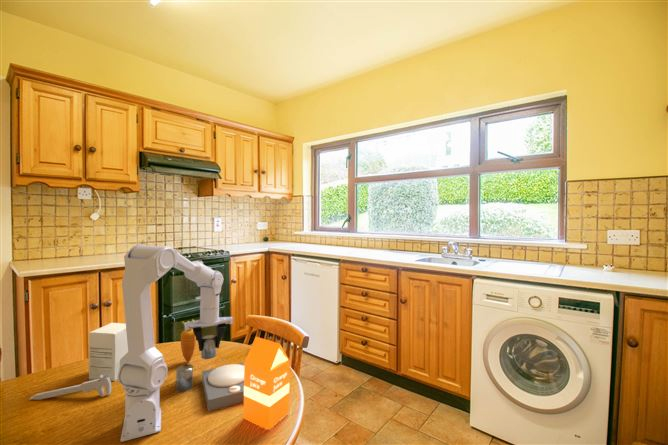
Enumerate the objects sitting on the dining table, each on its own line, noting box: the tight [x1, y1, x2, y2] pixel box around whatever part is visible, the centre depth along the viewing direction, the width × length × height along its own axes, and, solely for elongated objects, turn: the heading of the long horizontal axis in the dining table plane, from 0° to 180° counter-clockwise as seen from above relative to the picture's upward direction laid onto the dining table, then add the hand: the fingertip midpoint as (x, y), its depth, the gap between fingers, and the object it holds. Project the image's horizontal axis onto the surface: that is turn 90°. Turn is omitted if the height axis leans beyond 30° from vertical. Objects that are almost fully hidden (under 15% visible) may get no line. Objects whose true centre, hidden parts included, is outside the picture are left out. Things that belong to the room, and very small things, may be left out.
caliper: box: [28, 374, 112, 401], centre depth 87 cm, size 20×1×6 cm, turn 98°
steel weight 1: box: [175, 363, 194, 393], centre depth 93 cm, size 4×4×6 cm
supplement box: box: [88, 322, 128, 382], centre depth 100 cm, size 9×9×15 cm
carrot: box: [180, 318, 197, 363], centre depth 108 cm, size 5×5×15 cm
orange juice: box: [243, 336, 291, 429], centre depth 80 cm, size 8×9×20 cm
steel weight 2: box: [200, 334, 217, 360], centre depth 101 cm, size 4×4×6 cm
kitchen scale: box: [201, 362, 245, 412], centre depth 93 cm, size 17×14×4 cm
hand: (209, 348), depth 101 cm, fingers closed on steel weight 2, 4 cm apart
